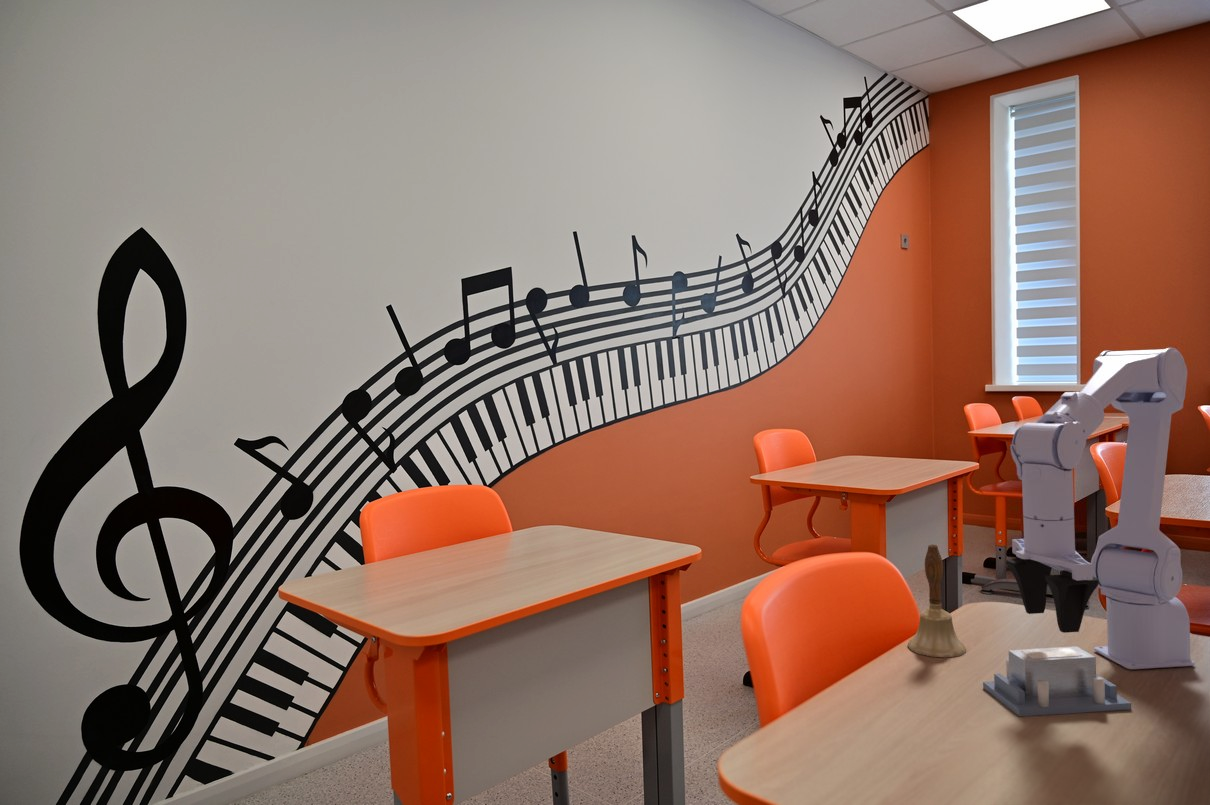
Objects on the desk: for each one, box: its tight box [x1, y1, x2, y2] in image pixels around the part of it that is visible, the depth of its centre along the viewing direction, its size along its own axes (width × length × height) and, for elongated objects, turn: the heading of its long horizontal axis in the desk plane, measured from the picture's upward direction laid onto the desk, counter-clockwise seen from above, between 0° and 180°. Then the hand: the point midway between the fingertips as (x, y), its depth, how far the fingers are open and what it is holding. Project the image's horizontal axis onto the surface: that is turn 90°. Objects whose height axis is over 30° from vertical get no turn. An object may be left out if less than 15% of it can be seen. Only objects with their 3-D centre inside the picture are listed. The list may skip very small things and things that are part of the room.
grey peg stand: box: [982, 658, 1132, 717], centre depth 104 cm, size 14×9×4 cm, turn 92°
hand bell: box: [907, 544, 967, 659], centre depth 124 cm, size 8×8×16 cm
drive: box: [1008, 645, 1097, 700], centre depth 104 cm, size 9×4×5 cm, turn 91°
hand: (1051, 621), depth 104 cm, fingers open, 7 cm apart
